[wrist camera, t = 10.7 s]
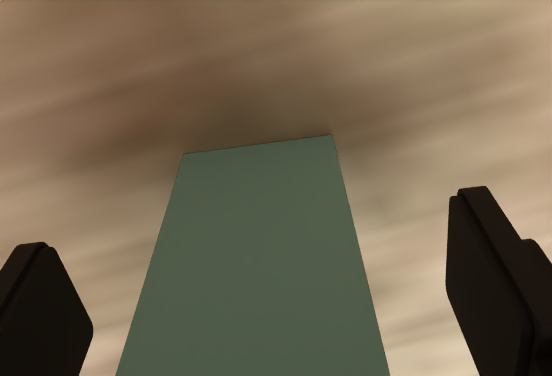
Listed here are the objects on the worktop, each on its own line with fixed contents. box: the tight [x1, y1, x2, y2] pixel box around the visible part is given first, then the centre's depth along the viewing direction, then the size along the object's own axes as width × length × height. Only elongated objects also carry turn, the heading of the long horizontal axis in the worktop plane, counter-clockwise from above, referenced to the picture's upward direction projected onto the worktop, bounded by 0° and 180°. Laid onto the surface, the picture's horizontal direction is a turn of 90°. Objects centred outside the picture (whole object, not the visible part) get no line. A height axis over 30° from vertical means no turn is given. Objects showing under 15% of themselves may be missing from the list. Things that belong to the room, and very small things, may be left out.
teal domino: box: [115, 135, 390, 376], centre depth 13 cm, size 2×5×10 cm, turn 98°
